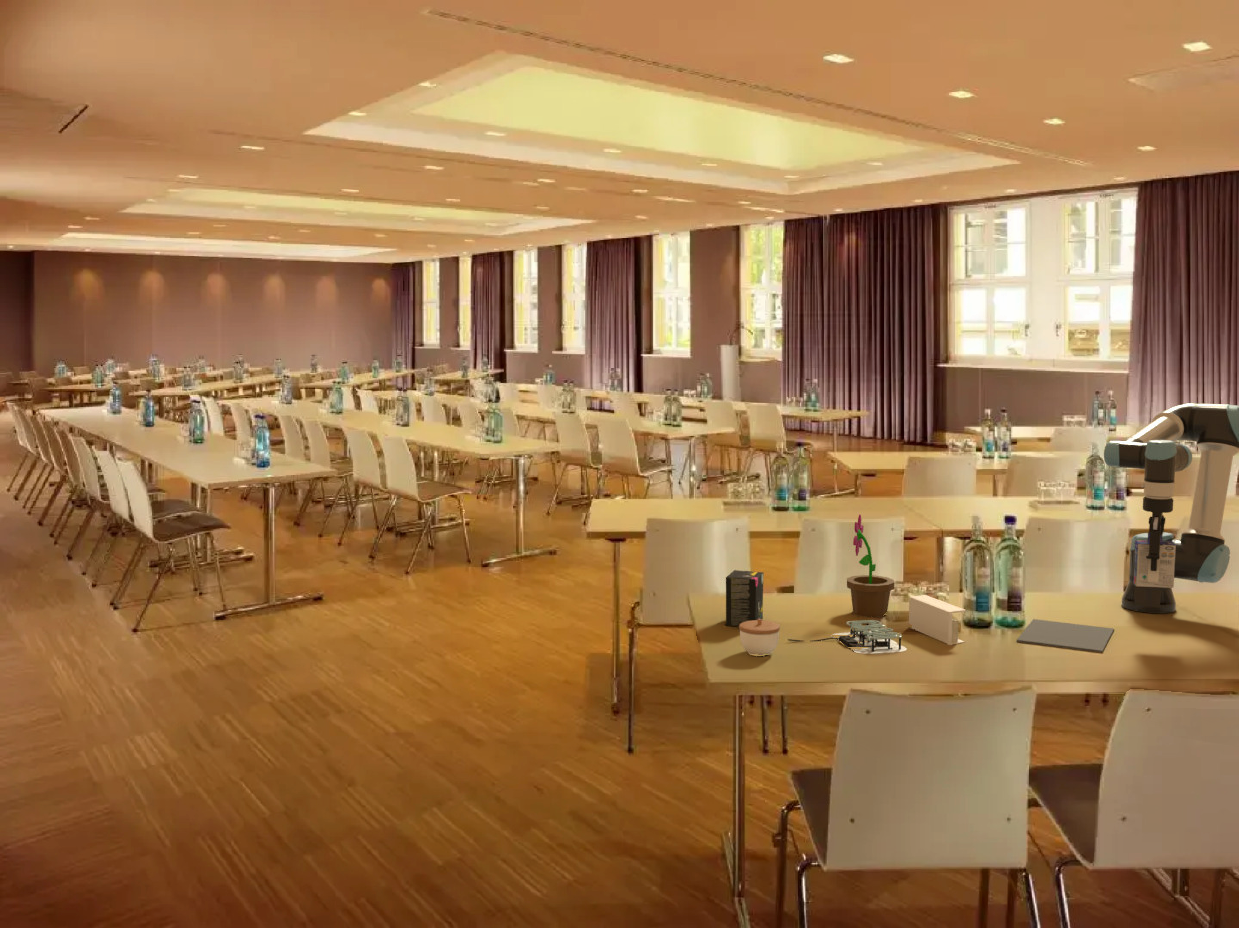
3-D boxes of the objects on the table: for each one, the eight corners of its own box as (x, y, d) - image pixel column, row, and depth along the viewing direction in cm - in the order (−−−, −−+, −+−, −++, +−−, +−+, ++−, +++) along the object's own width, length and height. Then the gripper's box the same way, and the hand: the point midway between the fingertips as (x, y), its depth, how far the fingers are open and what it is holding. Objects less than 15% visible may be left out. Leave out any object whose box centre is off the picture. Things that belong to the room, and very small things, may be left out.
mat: (1033, 621, 338) (1033, 619, 338) (1113, 630, 327) (1114, 628, 327) (1016, 641, 316) (1016, 639, 316) (1102, 652, 305) (1102, 650, 305)
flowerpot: (851, 605, 357) (853, 510, 353) (898, 610, 351) (900, 513, 347) (840, 616, 344) (842, 518, 341) (888, 621, 338) (890, 521, 335)
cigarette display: (965, 643, 315) (966, 610, 314) (948, 645, 314) (949, 612, 312) (922, 625, 334) (923, 593, 333) (905, 627, 332) (906, 595, 331)
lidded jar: (784, 658, 302) (785, 623, 301) (745, 660, 301) (745, 625, 299) (772, 646, 313) (773, 613, 312) (734, 648, 311) (734, 615, 310)
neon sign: (781, 623, 322) (878, 618, 328) (781, 638, 323) (878, 632, 328) (808, 644, 302) (911, 637, 307) (807, 660, 302) (911, 653, 308)
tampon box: (756, 628, 331) (756, 579, 329) (724, 626, 334) (725, 577, 332) (763, 619, 342) (764, 571, 340) (733, 616, 345) (733, 569, 343)
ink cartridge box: (1170, 583, 318) (1173, 532, 316) (1174, 588, 313) (1177, 536, 311) (1132, 581, 321) (1134, 531, 318) (1135, 587, 315) (1138, 535, 313)
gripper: (1146, 491, 324) (1142, 571, 326) (1140, 500, 307) (1136, 585, 310) (1175, 492, 320) (1171, 573, 323) (1171, 502, 303) (1166, 588, 306)
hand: (1154, 579), depth 316 cm, fingers closed on ink cartridge box, 6 cm apart
